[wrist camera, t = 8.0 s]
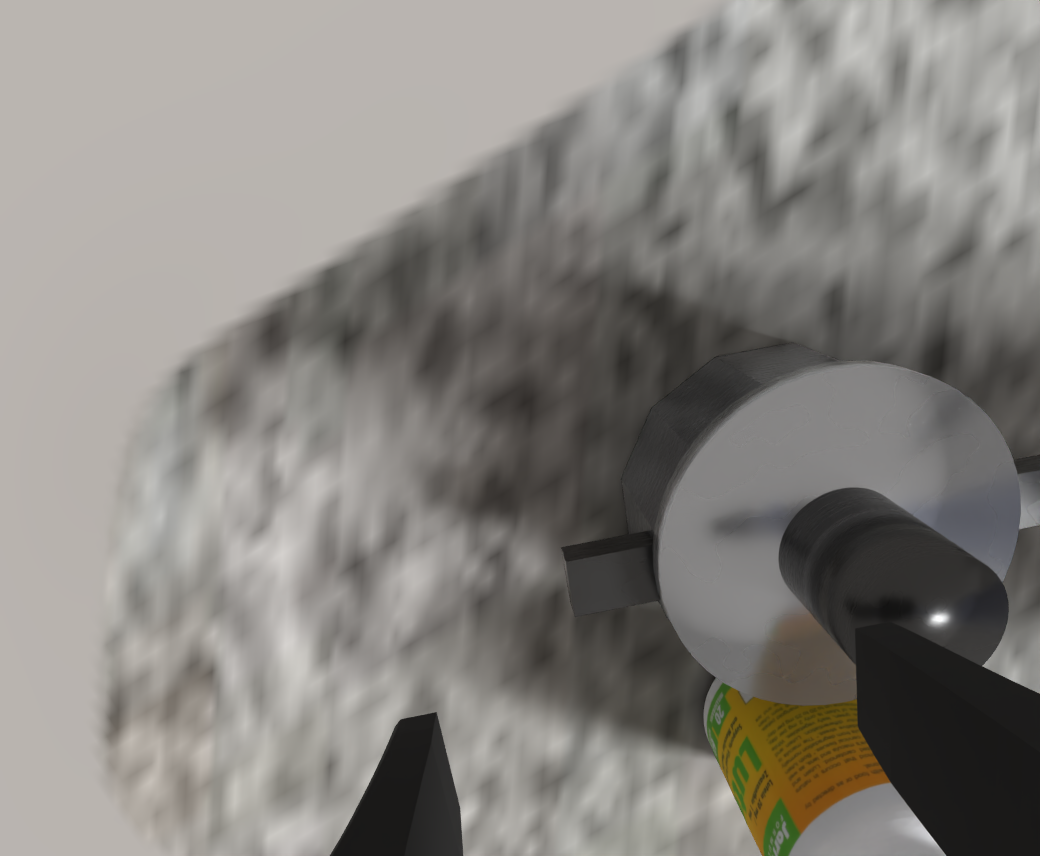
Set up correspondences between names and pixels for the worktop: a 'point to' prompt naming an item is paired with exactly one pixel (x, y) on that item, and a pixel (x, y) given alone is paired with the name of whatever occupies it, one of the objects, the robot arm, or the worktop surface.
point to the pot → (661, 445)
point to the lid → (836, 528)
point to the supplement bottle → (809, 779)
